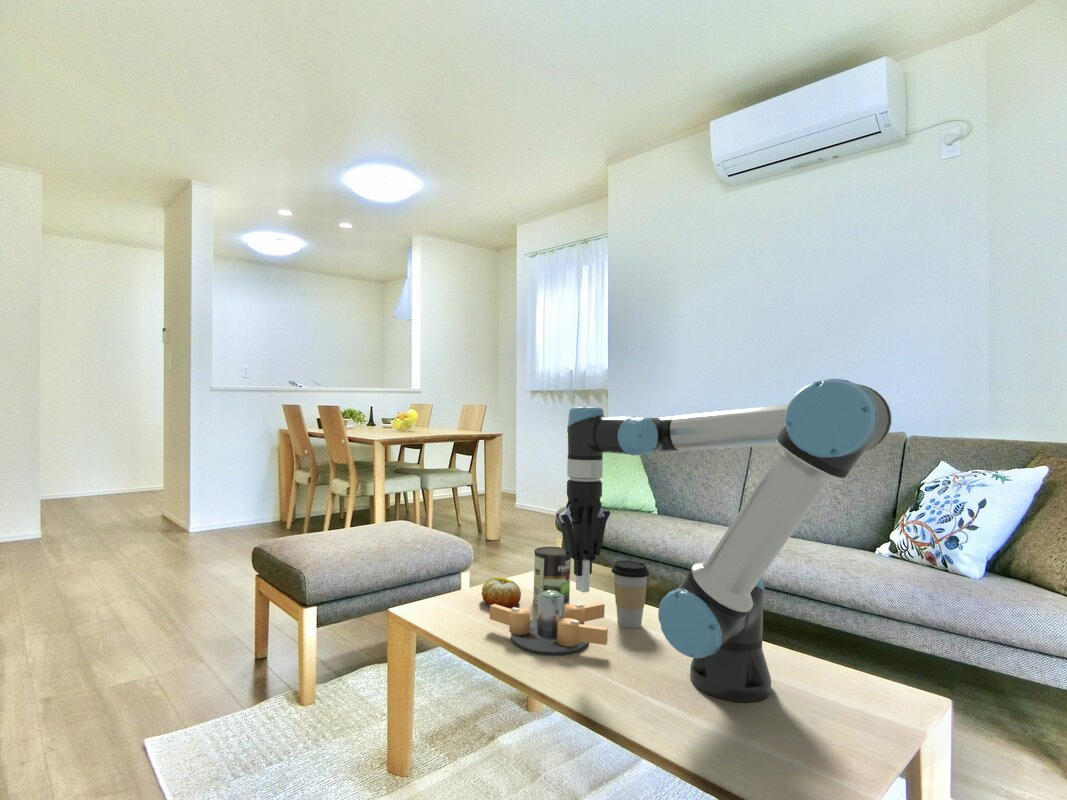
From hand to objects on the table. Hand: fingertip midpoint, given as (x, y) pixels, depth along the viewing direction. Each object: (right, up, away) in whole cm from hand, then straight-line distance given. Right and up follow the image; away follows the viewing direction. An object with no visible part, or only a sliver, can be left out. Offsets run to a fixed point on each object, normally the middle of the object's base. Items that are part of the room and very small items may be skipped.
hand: (582, 590), depth 120 cm
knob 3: (0, -13, +4) cm, 14 cm away
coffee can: (-5, -16, +37) cm, 41 cm away
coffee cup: (+14, -16, +22) cm, 30 cm away
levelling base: (-7, -15, +11) cm, 20 cm away
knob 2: (+2, -14, +16) cm, 21 cm away
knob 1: (-16, -13, +13) cm, 24 cm away
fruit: (-19, -16, +34) cm, 42 cm away
